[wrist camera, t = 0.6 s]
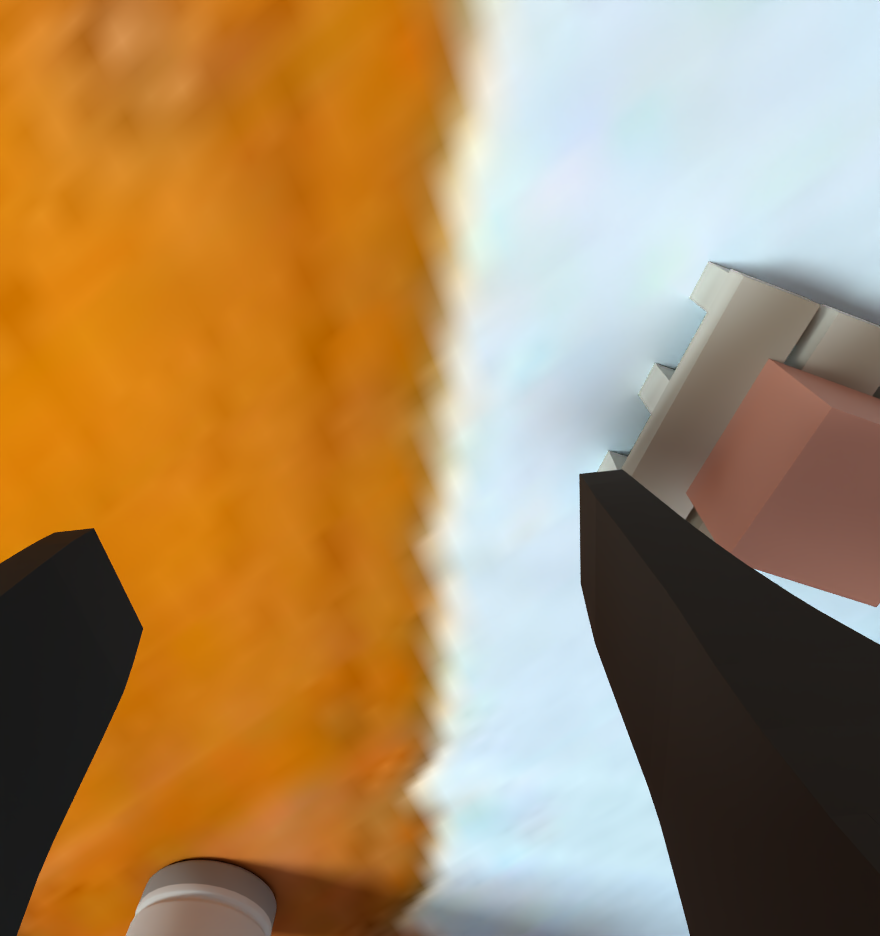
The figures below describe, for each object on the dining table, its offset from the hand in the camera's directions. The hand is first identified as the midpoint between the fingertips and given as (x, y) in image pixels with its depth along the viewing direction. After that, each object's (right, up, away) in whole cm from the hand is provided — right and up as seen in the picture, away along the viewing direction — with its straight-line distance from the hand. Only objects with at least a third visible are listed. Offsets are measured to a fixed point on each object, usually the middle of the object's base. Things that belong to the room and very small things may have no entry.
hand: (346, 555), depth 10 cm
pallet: (+11, +3, +9) cm, 14 cm away
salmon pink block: (+11, +2, +7) cm, 13 cm away
